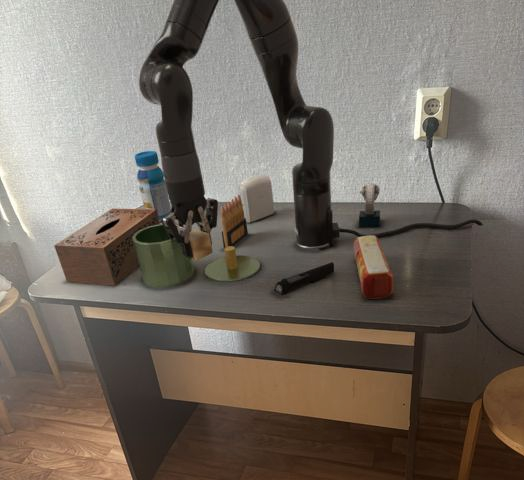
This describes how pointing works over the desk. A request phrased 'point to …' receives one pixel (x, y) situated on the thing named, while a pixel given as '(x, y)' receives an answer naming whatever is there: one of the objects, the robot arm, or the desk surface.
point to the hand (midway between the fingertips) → (198, 252)
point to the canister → (161, 258)
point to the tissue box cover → (104, 247)
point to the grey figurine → (369, 207)
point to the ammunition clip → (233, 222)
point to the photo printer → (256, 197)
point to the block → (200, 244)
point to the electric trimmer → (304, 278)
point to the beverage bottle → (152, 183)
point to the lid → (232, 267)
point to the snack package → (372, 268)
